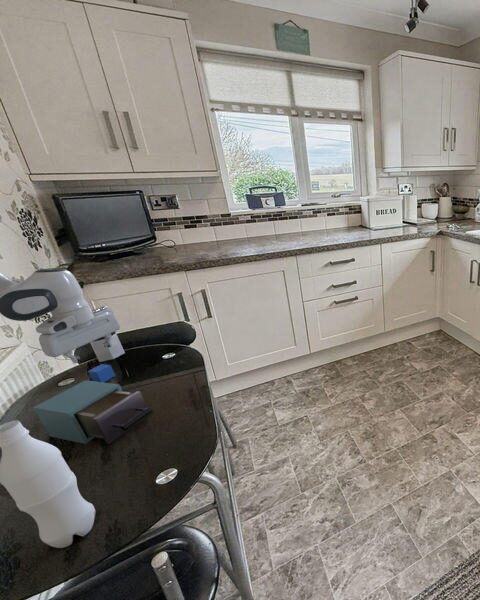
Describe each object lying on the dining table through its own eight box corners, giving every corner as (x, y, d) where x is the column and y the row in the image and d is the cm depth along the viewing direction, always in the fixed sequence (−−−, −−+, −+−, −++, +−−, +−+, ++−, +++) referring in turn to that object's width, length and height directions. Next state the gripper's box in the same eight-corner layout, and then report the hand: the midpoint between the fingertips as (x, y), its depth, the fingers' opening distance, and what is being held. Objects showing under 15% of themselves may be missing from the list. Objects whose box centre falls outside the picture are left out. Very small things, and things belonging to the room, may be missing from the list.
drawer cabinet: (132, 412, 94) (119, 384, 90) (85, 444, 83) (68, 413, 80) (99, 407, 98) (85, 380, 94) (50, 436, 87) (32, 407, 83)
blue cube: (93, 382, 111) (87, 371, 110) (106, 374, 115) (101, 364, 114) (102, 383, 110) (96, 372, 109) (115, 375, 114) (110, 365, 113)
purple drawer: (164, 416, 89) (153, 393, 86) (123, 447, 80) (110, 421, 77) (118, 409, 94) (107, 386, 91) (75, 437, 84) (61, 413, 82)
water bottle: (76, 514, 64) (10, 412, 55) (110, 513, 64) (50, 410, 55) (37, 554, 58) (-44, 445, 49) (75, 553, 57) (0, 443, 48)
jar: (109, 364, 122) (95, 336, 118) (92, 363, 124) (78, 335, 120) (131, 352, 131) (119, 325, 126) (115, 351, 132) (103, 325, 128)
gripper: (102, 304, 114) (118, 338, 120) (28, 330, 96) (50, 370, 101) (115, 304, 113) (131, 339, 118) (42, 331, 95) (64, 372, 100)
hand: (93, 354), depth 109 cm, fingers open, 8 cm apart
